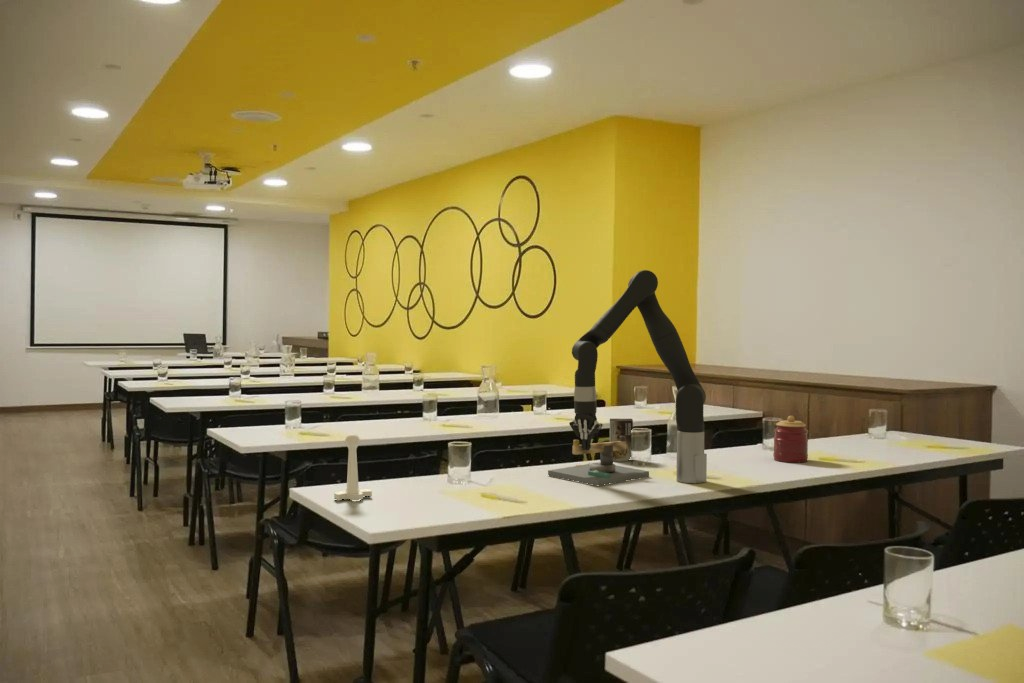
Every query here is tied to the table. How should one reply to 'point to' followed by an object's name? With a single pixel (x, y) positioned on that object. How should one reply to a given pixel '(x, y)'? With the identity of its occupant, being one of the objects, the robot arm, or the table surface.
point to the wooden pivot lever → (601, 453)
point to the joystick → (352, 473)
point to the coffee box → (621, 429)
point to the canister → (790, 441)
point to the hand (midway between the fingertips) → (586, 449)
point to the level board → (598, 474)
